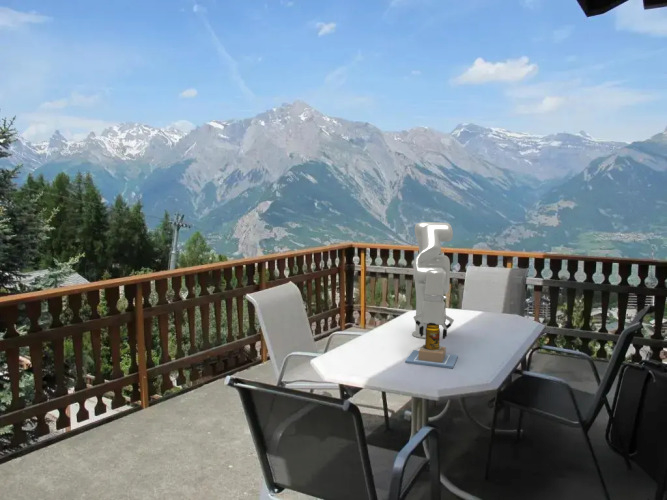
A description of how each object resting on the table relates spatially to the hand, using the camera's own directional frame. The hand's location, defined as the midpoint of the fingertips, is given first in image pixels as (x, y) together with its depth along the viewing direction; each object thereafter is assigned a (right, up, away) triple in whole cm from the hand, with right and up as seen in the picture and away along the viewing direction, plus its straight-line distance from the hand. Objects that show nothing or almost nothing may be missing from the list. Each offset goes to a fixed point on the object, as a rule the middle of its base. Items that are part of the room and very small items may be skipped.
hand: (432, 336), depth 221 cm
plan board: (0, -10, +1) cm, 10 cm away
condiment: (-1, -5, +1) cm, 6 cm away
